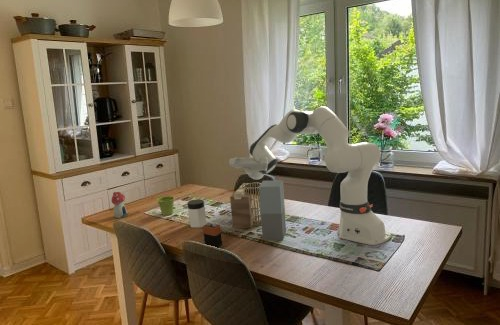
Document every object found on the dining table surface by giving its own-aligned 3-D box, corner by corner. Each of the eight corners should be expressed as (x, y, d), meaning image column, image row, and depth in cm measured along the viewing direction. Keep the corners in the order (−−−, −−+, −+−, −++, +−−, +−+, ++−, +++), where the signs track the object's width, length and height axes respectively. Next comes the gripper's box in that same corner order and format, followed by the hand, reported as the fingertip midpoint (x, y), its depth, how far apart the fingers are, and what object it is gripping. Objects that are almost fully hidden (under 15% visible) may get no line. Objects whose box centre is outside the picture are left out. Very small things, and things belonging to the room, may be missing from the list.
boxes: (237, 220, 195) (233, 174, 190) (289, 220, 189) (286, 173, 184) (225, 239, 173) (220, 187, 168) (283, 240, 167) (279, 186, 162)
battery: (216, 248, 164) (214, 226, 162) (204, 245, 167) (202, 224, 165) (222, 244, 167) (220, 222, 165) (210, 242, 171) (208, 220, 169)
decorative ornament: (119, 219, 209) (115, 193, 206) (110, 218, 212) (106, 192, 209) (131, 213, 218) (127, 188, 215) (121, 213, 220) (118, 187, 217)
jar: (188, 223, 196) (185, 200, 194) (204, 220, 198) (202, 198, 196) (191, 229, 188) (188, 205, 185) (207, 226, 190) (205, 202, 188)
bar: (243, 187, 196) (243, 183, 195) (249, 187, 195) (248, 183, 195) (234, 199, 178) (233, 194, 178) (240, 199, 177) (240, 193, 177)
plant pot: (174, 216, 209) (172, 200, 207) (157, 217, 209) (155, 201, 207) (177, 210, 218) (176, 195, 216) (161, 211, 218) (159, 196, 216)
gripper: (233, 160, 212) (226, 152, 199) (270, 159, 207) (265, 151, 194) (232, 172, 210) (225, 164, 197) (269, 171, 205) (264, 163, 192)
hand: (245, 158), depth 195 cm, fingers open, 8 cm apart
